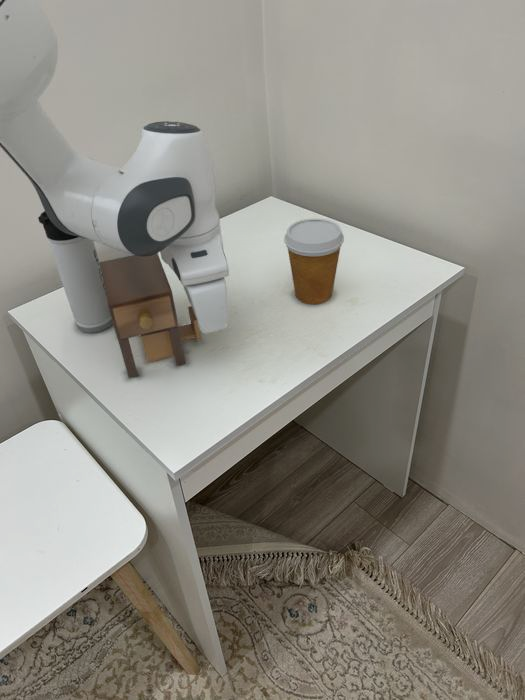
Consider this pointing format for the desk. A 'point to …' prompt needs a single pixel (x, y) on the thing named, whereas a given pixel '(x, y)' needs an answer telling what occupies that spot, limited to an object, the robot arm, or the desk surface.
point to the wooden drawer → (168, 339)
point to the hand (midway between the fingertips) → (203, 321)
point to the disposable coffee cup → (313, 258)
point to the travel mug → (79, 277)
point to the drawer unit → (140, 303)
